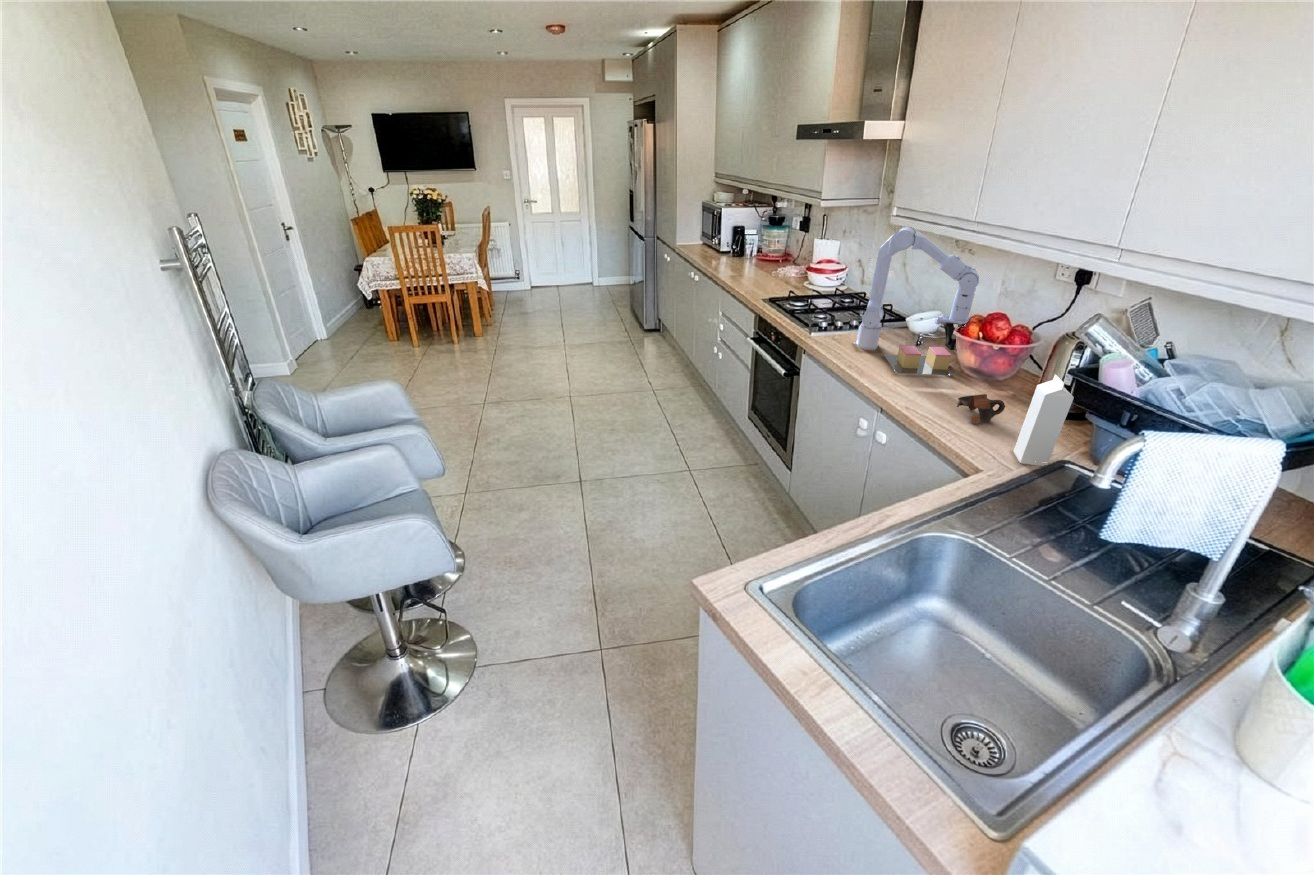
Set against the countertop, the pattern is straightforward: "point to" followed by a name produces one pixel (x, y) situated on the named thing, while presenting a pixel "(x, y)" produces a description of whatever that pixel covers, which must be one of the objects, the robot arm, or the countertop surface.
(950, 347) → the knife
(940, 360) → the cake slice
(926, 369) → the board
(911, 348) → the cake half
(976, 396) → the pottery mug
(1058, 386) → the milk
